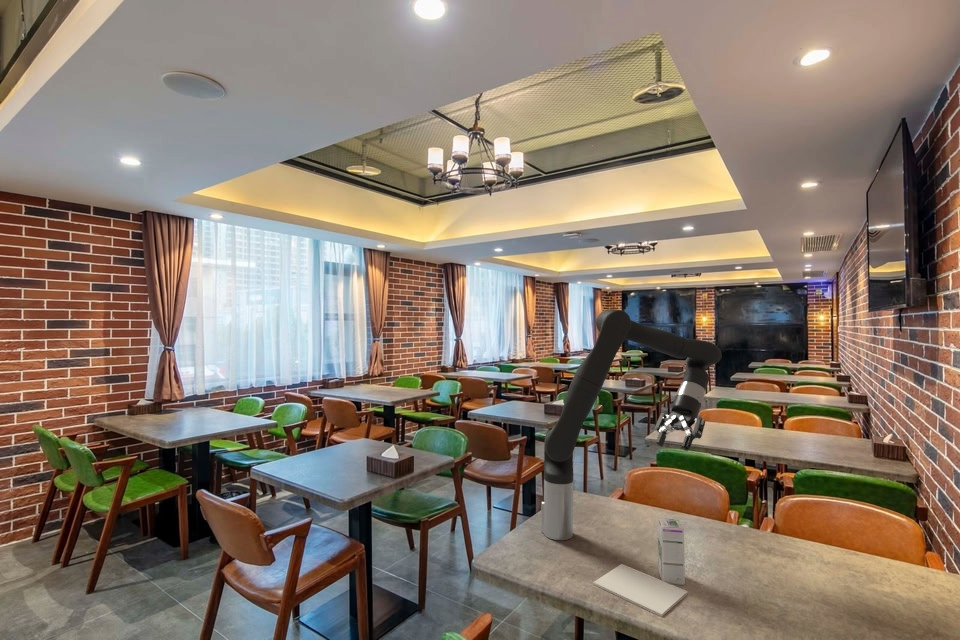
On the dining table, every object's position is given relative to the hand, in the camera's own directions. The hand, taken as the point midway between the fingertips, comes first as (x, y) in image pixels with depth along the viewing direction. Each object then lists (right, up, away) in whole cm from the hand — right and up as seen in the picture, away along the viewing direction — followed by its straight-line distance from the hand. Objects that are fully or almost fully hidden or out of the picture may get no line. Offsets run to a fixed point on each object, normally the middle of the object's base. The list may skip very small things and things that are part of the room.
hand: (671, 447), depth 135 cm
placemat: (-16, -30, -19) cm, 39 cm away
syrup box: (-6, -31, -14) cm, 34 cm away
